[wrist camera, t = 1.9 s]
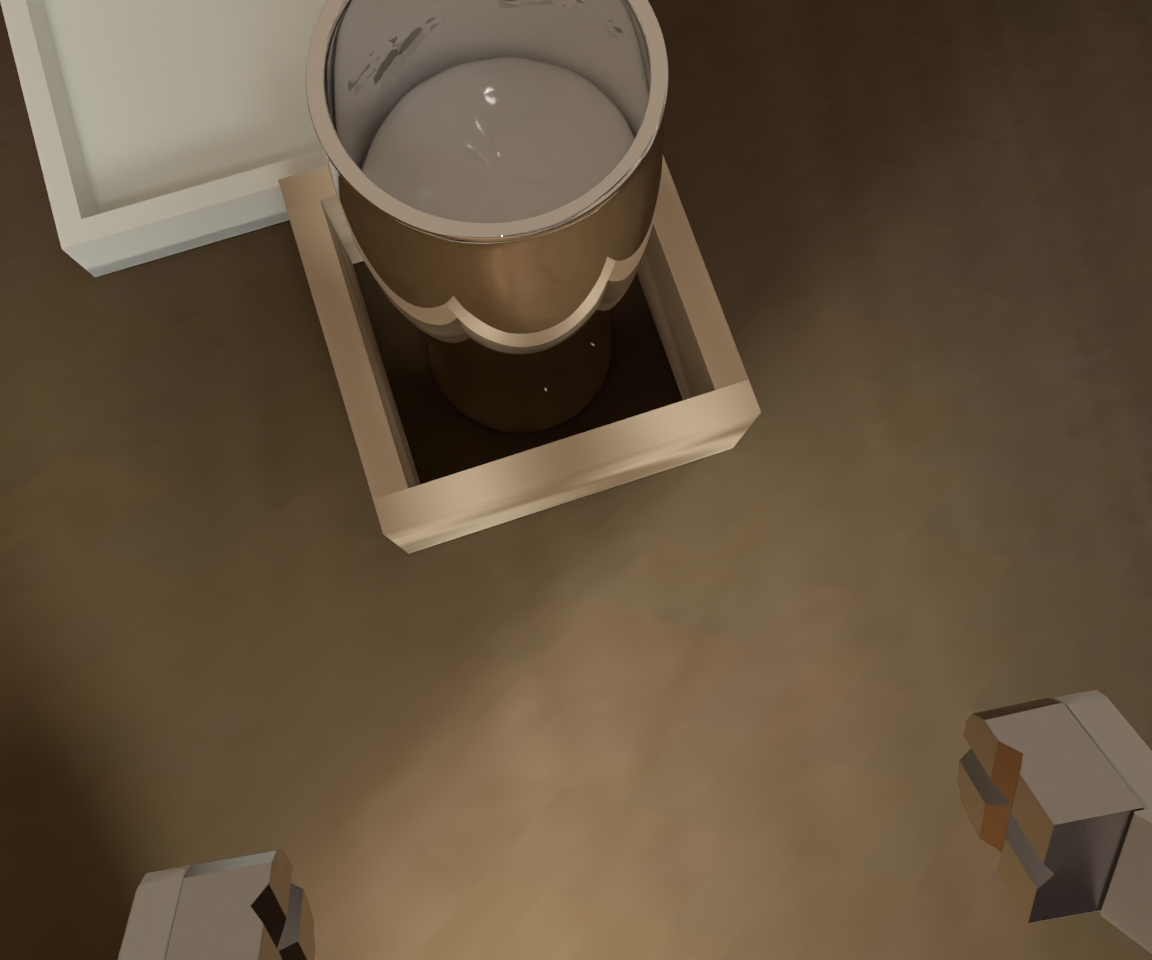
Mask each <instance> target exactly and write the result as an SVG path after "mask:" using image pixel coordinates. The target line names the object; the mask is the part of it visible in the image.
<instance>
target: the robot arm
mask: <svg viewBox="0 0 1152 960" xmlns="http://www.w3.org/2000/svg"><path fill="white" fill-rule="evenodd" d="M964 737H965V738H966V740H967V742H968V743H969V745H970V747H971V749H970V750H969V751H968V752H967V753H966V754H965V755H964V756H963V757H962V758H961V759H960V760H959V768H958V777H957V781H958V786H959V791H960V797H961V802H962V804H963V807H964V809H965V812H966V814H967V817H968V819H969V821H970V823H971V825H972V827H973V828H974V830H975V832H976V834H977V836H978V837H979V839H981V840H983V841H984V842H986V843H987V844H989V845H990V846H992V847H994V848H995V849H997V850H998V851H1000V852H1001V857H1000V863H999V869H998V872H999V874H1000V876H1001V878H1002V879H1003V881H1004V883H1005V884H1006V886H1007V888H1008V890H1009V891H1010V893H1011V895H1012V896H1013V898H1014V900H1015V902H1016V903H1017V905H1018V907H1019V908H1020V910H1021V912H1022V914H1023V915H1024V917H1025V919H1026V920H1027V922H1028V923H1033V922H1038V921H1044V920H1050V919H1055V918H1061V917H1067V916H1072V915H1078V914H1083V913H1089V912H1095V911H1100V910H1101V912H1100V915H1101V916H1102V917H1104V918H1105V919H1106V920H1108V921H1109V922H1110V923H1112V924H1113V925H1114V926H1116V927H1117V928H1118V929H1120V930H1121V931H1122V932H1124V933H1125V934H1126V935H1127V936H1129V937H1130V938H1131V939H1133V940H1134V941H1135V942H1137V943H1138V944H1139V945H1141V946H1142V947H1143V948H1145V949H1146V950H1147V951H1149V952H1150V953H1151V954H1152V751H1151V749H1150V748H1149V747H1148V746H1147V745H1146V743H1145V742H1144V741H1143V740H1142V739H1141V737H1140V736H1139V735H1138V734H1137V733H1136V731H1135V730H1134V729H1133V728H1132V727H1131V725H1130V724H1129V723H1128V722H1127V721H1126V719H1125V718H1124V717H1123V716H1122V715H1121V713H1120V712H1119V711H1118V710H1117V709H1116V707H1115V706H1114V705H1113V704H1112V703H1111V701H1110V700H1109V699H1108V698H1107V697H1106V696H1105V695H1104V694H1102V693H1100V692H1098V691H1097V690H1091V691H1085V692H1080V693H1075V694H1070V695H1065V696H1061V697H1056V698H1052V699H1051V698H1045V699H1040V700H1035V701H1030V702H1025V703H1021V704H1016V705H1011V706H1006V707H1002V708H997V709H992V710H987V711H983V712H978V713H973V714H972V715H971V716H970V717H969V718H968V719H967V720H966V725H965V730H964ZM291 875H292V865H291V863H290V861H289V859H288V857H287V855H286V853H285V851H284V850H283V849H282V850H276V851H270V852H264V853H259V854H253V855H247V856H241V857H235V858H229V859H223V860H217V861H211V862H206V863H200V864H194V865H187V866H182V867H177V868H171V869H166V870H161V871H156V872H150V873H146V874H145V876H144V878H143V879H142V881H141V883H140V884H139V886H138V887H137V889H136V893H135V896H134V900H133V904H132V908H131V911H130V915H129V919H128V922H127V926H126V930H125V934H124V937H123V941H122V945H121V949H120V952H119V956H118V960H314V955H315V938H314V923H313V917H312V913H311V908H310V904H309V901H308V899H307V897H306V894H305V892H304V890H303V889H302V888H300V887H297V886H295V885H293V884H291Z"/></svg>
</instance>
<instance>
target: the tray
mask: <svg viewBox="0 0 1152 960" xmlns="http://www.w3.org/2000/svg"><path fill="white" fill-rule="evenodd" d="M0 2H1V6H2V10H3V14H4V18H5V22H6V26H7V30H8V34H9V38H10V42H11V47H12V51H13V55H14V59H15V63H16V67H17V71H18V75H19V79H20V83H21V87H22V91H23V95H24V99H25V103H26V107H27V111H28V115H29V119H30V123H31V127H32V131H33V135H34V139H35V143H36V147H37V151H38V155H39V159H40V164H41V168H42V172H43V176H44V180H45V184H46V188H47V192H48V196H49V200H50V204H51V208H52V212H53V216H54V220H55V224H56V228H57V232H58V236H59V240H60V244H61V248H62V250H63V251H65V252H66V253H67V254H68V255H69V256H70V257H72V258H73V259H74V260H75V261H76V262H78V263H79V264H80V265H81V266H82V267H84V268H85V269H86V270H87V271H88V272H89V273H91V274H92V275H93V276H94V277H98V276H101V275H105V274H108V273H112V272H115V271H118V270H122V269H125V268H129V267H132V266H135V265H139V264H142V263H146V262H149V261H152V260H156V259H159V258H163V257H166V256H169V255H173V254H176V253H179V252H183V251H186V250H190V249H193V248H196V247H200V246H203V245H207V244H210V243H213V242H217V241H220V240H224V239H227V238H230V237H234V236H237V235H241V234H244V233H247V232H251V231H254V230H258V229H261V228H264V227H268V226H271V225H274V224H278V223H281V222H285V221H288V220H290V219H289V216H288V212H287V209H286V206H285V202H284V199H283V196H282V192H281V189H280V185H279V182H278V180H279V179H282V178H285V177H289V176H292V175H296V174H299V173H303V172H306V171H310V170H313V169H316V168H320V167H323V166H327V162H326V159H325V155H324V151H323V148H322V146H321V144H320V142H319V139H318V137H317V135H316V132H315V130H314V127H313V124H312V121H311V117H310V113H309V108H308V103H307V96H306V80H305V76H306V61H307V54H308V48H309V44H310V40H311V36H312V33H313V30H314V27H315V24H316V22H317V19H318V17H319V15H320V13H321V11H322V9H323V7H324V5H325V3H326V2H327V0H0Z"/></svg>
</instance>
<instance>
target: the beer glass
mask: <svg viewBox="0 0 1152 960" xmlns="http://www.w3.org/2000/svg"><path fill="white" fill-rule="evenodd" d="M305 80H306V96H307V103H308V108H309V113H310V117H311V121H312V124H313V127H314V130H315V132H316V135H317V137H318V139H319V142H320V144H321V146H322V148H323V151H324V155H325V159H326V162H327V166H328V170H329V173H330V176H331V179H332V183H333V186H334V189H335V192H336V195H337V199H338V202H339V205H340V208H341V210H342V213H343V215H344V218H345V220H346V223H347V225H348V228H349V230H350V233H351V235H352V237H353V240H354V242H355V244H356V247H357V249H358V251H359V253H360V255H361V256H362V258H363V260H364V262H365V263H366V265H367V267H368V269H369V270H370V272H371V274H372V276H373V277H374V279H375V281H376V283H377V284H378V286H379V287H380V289H381V290H382V292H383V293H384V294H385V296H386V297H387V298H388V299H389V300H390V302H391V303H392V304H393V305H394V306H395V307H396V308H397V310H398V311H399V312H400V313H401V314H402V315H403V316H404V318H405V319H406V320H407V321H408V322H409V323H410V324H411V325H412V326H413V327H414V328H415V329H416V330H417V331H419V332H420V333H421V334H422V335H423V336H424V337H425V338H426V339H428V355H429V361H430V365H431V369H432V372H433V375H434V377H435V380H436V382H437V384H438V386H439V388H440V389H441V391H442V392H443V394H444V395H445V397H446V398H447V399H448V400H449V401H450V403H451V404H452V405H453V406H454V407H455V408H456V409H457V410H459V411H460V412H461V413H462V414H464V415H465V416H466V417H468V418H470V419H471V420H473V421H475V422H477V423H479V424H481V425H483V426H486V427H488V428H491V429H495V430H499V431H504V432H511V433H529V432H537V431H541V430H545V429H549V428H552V427H554V426H557V425H559V424H561V423H563V422H565V421H567V420H569V419H570V418H572V417H573V416H575V415H576V414H577V413H579V412H580V411H581V410H582V409H583V408H584V407H586V406H587V405H588V403H589V402H590V401H591V400H592V399H593V398H594V397H595V395H596V394H597V392H598V391H599V389H600V388H601V386H602V384H603V382H604V380H605V378H606V375H607V372H608V369H609V365H610V361H611V354H612V331H611V325H610V320H609V319H610V317H611V316H612V314H613V313H614V311H615V310H616V309H617V307H618V306H619V304H620V303H621V301H622V299H623V298H624V296H625V294H626V292H627V290H628V288H629V286H630V284H631V282H632V281H633V279H634V277H635V275H636V273H637V271H638V269H639V267H640V264H641V262H642V259H643V257H644V254H645V250H646V247H647V243H648V240H649V236H650V233H651V229H652V226H653V222H654V218H655V213H656V208H657V201H658V194H659V187H660V180H661V173H662V160H663V144H664V116H665V108H666V103H667V97H668V86H669V67H668V57H667V51H666V46H665V41H664V37H663V34H662V31H661V28H660V25H659V22H658V20H657V17H656V15H655V13H654V11H653V9H652V7H651V5H650V3H649V1H648V0H327V2H326V3H325V5H324V7H323V9H322V11H321V13H320V15H319V17H318V19H317V22H316V24H315V27H314V30H313V33H312V36H311V40H310V44H309V48H308V54H307V61H306V76H305Z"/></svg>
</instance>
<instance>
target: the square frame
mask: <svg viewBox="0 0 1152 960" xmlns="http://www.w3.org/2000/svg"><path fill="white" fill-rule="evenodd" d="M278 182H279V185H280V189H281V192H282V196H283V199H284V202H285V206H286V209H287V212H288V216H289V219H290V222H291V226H292V229H293V232H294V236H295V239H296V243H297V246H298V249H299V253H300V256H301V259H302V263H303V266H304V269H305V273H306V276H307V280H308V283H309V286H310V290H311V293H312V296H313V300H314V303H315V306H316V310H317V313H318V317H319V320H320V323H321V327H322V330H323V333H324V337H325V340H326V343H327V347H328V350H329V354H330V357H331V360H332V364H333V367H334V370H335V374H336V377H337V380H338V384H339V387H340V391H341V394H342V397H343V401H344V404H345V407H346V411H347V414H348V417H349V421H350V424H351V427H352V431H353V434H354V438H355V441H356V444H357V448H358V451H359V454H360V458H361V461H362V464H363V468H364V471H365V475H366V478H367V481H368V485H369V488H370V491H371V495H372V498H373V501H374V505H375V508H376V512H377V515H378V518H379V522H380V525H381V528H382V532H383V534H384V535H385V536H386V537H388V538H389V539H390V540H392V541H393V542H394V543H395V544H397V545H398V546H399V547H401V548H402V549H403V550H405V551H406V552H407V553H412V552H415V551H419V550H422V549H425V548H428V547H431V546H434V545H437V544H440V543H443V542H446V541H449V540H452V539H455V538H459V537H462V536H465V535H468V534H471V533H474V532H477V531H480V530H483V529H486V528H489V527H492V526H495V525H498V524H502V523H505V522H508V521H511V520H514V519H517V518H520V517H523V516H526V515H529V514H532V513H535V512H538V511H542V510H545V509H548V508H551V507H554V506H557V505H560V504H563V503H566V502H569V501H572V500H575V499H578V498H581V497H585V496H588V495H591V494H594V493H597V492H600V491H603V490H606V489H609V488H612V487H615V486H618V485H621V484H625V483H628V482H631V481H634V480H637V479H640V478H643V477H646V476H649V475H652V474H655V473H658V472H661V471H664V470H668V469H671V468H674V467H677V466H680V465H683V464H686V463H689V462H692V461H695V460H698V459H701V458H704V457H708V456H711V455H714V454H717V453H720V452H723V451H726V450H729V449H732V448H733V447H734V446H735V445H736V443H737V442H738V441H739V440H740V438H741V437H742V436H743V434H744V433H745V432H746V431H747V429H748V428H749V427H750V426H751V424H752V423H753V422H754V420H755V419H756V418H757V417H758V415H759V414H760V413H761V411H760V408H759V405H758V403H757V400H756V398H755V395H754V392H753V390H752V387H751V384H750V382H749V379H748V377H747V374H746V371H745V369H744V366H743V363H742V361H741V358H740V356H739V353H738V350H737V348H736V345H735V342H734V340H733V337H732V335H731V332H730V329H729V327H728V324H727V322H726V319H725V316H724V314H723V311H722V308H721V306H720V303H719V301H718V298H717V295H716V293H715V290H714V287H713V285H712V282H711V280H710V277H709V274H708V272H707V269H706V266H705V264H704V261H703V259H702V256H701V253H700V251H699V248H698V245H697V243H696V240H695V238H694V235H693V232H692V230H691V227H690V224H689V222H688V219H687V217H686V214H685V211H684V209H683V206H682V203H681V201H680V198H679V196H678V193H677V190H676V188H675V185H674V182H673V180H672V177H671V175H670V172H669V169H668V167H667V164H666V162H665V159H664V156H663V160H662V173H661V180H660V187H659V194H658V201H657V208H656V213H655V218H654V222H653V226H652V229H651V233H650V236H649V240H648V243H647V247H646V250H645V254H644V257H643V259H642V262H641V264H640V267H639V269H638V271H637V276H638V279H639V282H640V284H641V287H642V290H643V293H644V295H645V298H646V301H647V303H648V306H649V309H650V312H651V314H652V317H653V320H654V323H655V325H656V328H657V331H658V334H659V336H660V339H661V342H662V344H663V347H664V350H665V353H666V355H667V358H668V361H669V364H670V366H671V369H672V372H673V374H674V377H675V380H676V383H677V385H678V388H679V391H680V394H681V396H682V399H683V401H680V402H677V403H674V404H671V405H667V406H664V407H661V408H658V409H655V410H652V411H649V412H646V413H642V414H639V415H636V416H633V417H630V418H627V419H624V420H621V421H617V422H614V423H611V424H608V425H605V426H602V427H599V428H596V429H592V430H589V431H586V432H583V433H580V434H577V435H574V436H571V437H567V438H564V439H561V440H558V441H555V442H552V443H549V444H546V445H542V446H539V447H536V448H533V449H530V450H527V451H524V452H521V453H517V454H514V455H511V456H508V457H505V458H502V459H499V460H496V461H492V462H489V463H486V464H483V465H480V466H477V467H474V468H471V469H467V470H464V471H461V472H458V473H455V474H452V475H449V476H446V477H442V478H439V479H436V480H433V481H430V482H427V483H424V484H420V481H419V477H418V474H417V471H416V468H415V464H414V461H413V458H412V455H411V451H410V448H409V445H408V442H407V438H406V435H405V432H404V429H403V425H402V422H401V419H400V416H399V412H398V409H397V406H396V403H395V399H394V396H393V393H392V390H391V386H390V383H389V380H388V377H387V373H386V370H385V367H384V364H383V360H382V357H381V354H380V351H379V347H378V344H377V341H376V338H375V334H374V331H373V328H372V325H371V321H370V318H369V315H368V312H367V308H366V305H365V302H364V299H363V295H362V292H361V289H360V286H359V282H358V279H357V276H356V273H355V269H354V266H353V264H355V263H358V262H361V261H364V260H363V258H362V256H361V255H360V253H359V251H358V249H357V247H356V244H355V242H354V240H353V237H352V235H351V233H350V230H349V228H348V225H347V223H346V220H345V218H344V215H343V213H342V210H341V208H340V205H339V202H338V199H337V195H336V192H335V189H334V186H333V183H332V179H331V176H330V173H329V170H328V166H323V167H320V168H316V169H313V170H310V171H306V172H303V173H299V174H296V175H292V176H289V177H285V178H282V179H279V180H278Z"/></svg>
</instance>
